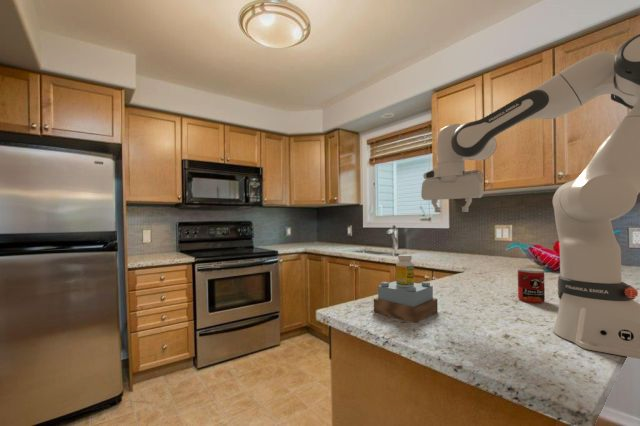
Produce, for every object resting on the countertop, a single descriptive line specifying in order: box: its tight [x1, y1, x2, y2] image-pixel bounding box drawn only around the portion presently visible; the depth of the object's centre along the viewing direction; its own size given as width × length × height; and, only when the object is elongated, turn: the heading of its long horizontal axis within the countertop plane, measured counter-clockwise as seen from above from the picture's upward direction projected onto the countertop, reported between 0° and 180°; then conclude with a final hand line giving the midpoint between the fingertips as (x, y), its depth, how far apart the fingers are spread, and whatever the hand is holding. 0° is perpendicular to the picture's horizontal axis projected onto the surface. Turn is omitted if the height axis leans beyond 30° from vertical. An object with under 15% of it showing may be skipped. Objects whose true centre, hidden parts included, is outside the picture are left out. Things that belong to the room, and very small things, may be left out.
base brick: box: [373, 297, 439, 324], centre depth 93 cm, size 14×14×4 cm
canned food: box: [517, 267, 546, 304], centre depth 105 cm, size 8×8×11 cm
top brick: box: [377, 280, 434, 307], centre depth 93 cm, size 12×12×5 cm
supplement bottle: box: [395, 253, 415, 288], centre depth 93 cm, size 5×5×10 cm
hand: (451, 212), depth 104 cm, fingers open, 8 cm apart
